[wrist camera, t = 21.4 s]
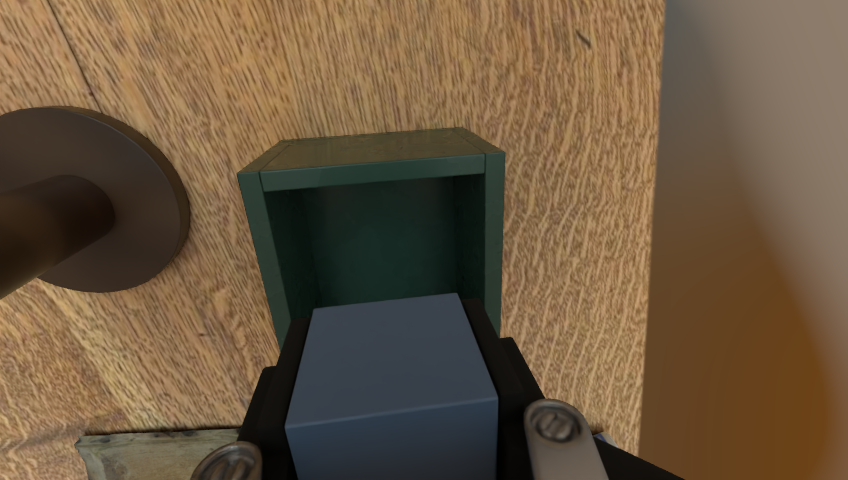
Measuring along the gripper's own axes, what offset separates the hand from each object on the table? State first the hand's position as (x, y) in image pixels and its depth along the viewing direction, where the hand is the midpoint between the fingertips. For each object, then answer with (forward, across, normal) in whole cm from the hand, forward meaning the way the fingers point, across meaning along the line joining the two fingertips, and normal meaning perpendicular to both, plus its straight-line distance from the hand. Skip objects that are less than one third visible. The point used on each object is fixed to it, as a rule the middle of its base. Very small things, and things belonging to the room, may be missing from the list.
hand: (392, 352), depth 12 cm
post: (+13, +16, -2) cm, 20 cm away
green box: (+13, 0, +1) cm, 13 cm away
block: (0, 0, 0) cm, 0 cm away
